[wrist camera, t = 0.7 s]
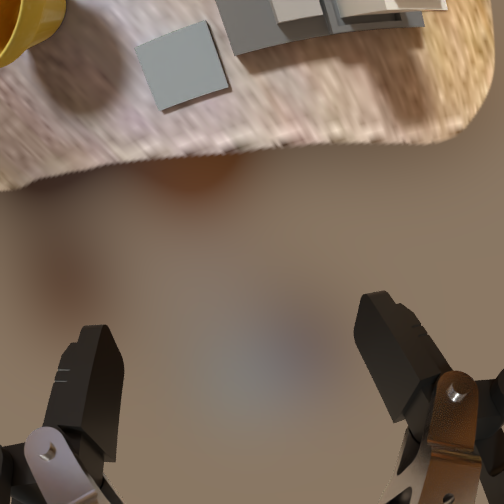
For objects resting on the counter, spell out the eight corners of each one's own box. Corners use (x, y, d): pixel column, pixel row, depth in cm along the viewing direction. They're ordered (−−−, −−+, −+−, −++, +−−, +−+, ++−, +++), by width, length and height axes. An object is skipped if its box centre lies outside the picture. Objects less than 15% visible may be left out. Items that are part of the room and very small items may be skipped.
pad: (136, 47, 24) (134, 48, 24) (206, 20, 23) (205, 20, 23) (160, 109, 28) (159, 111, 28) (228, 86, 27) (228, 87, 27)
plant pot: (-5, 16, 19) (-64, 26, 11) (60, -47, 16) (4, -60, 8) (28, 76, 24) (-30, 99, 16) (97, 16, 22) (43, 14, 14)
